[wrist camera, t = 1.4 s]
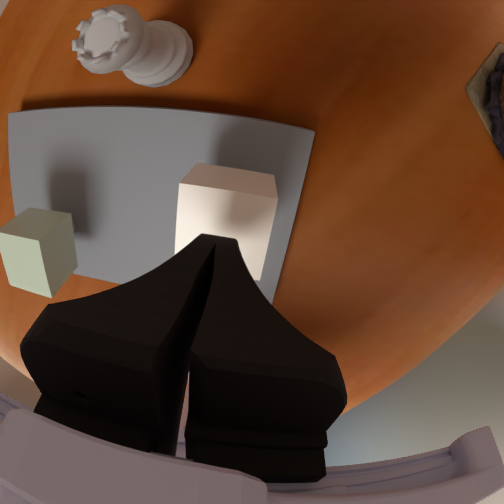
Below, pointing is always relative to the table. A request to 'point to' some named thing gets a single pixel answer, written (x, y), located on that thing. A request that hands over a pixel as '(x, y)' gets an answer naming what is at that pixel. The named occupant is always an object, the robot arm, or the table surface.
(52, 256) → the pale green cube
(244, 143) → the panel
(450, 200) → the table surface
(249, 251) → the cream matte cube
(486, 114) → the abalone
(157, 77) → the rook chess piece
